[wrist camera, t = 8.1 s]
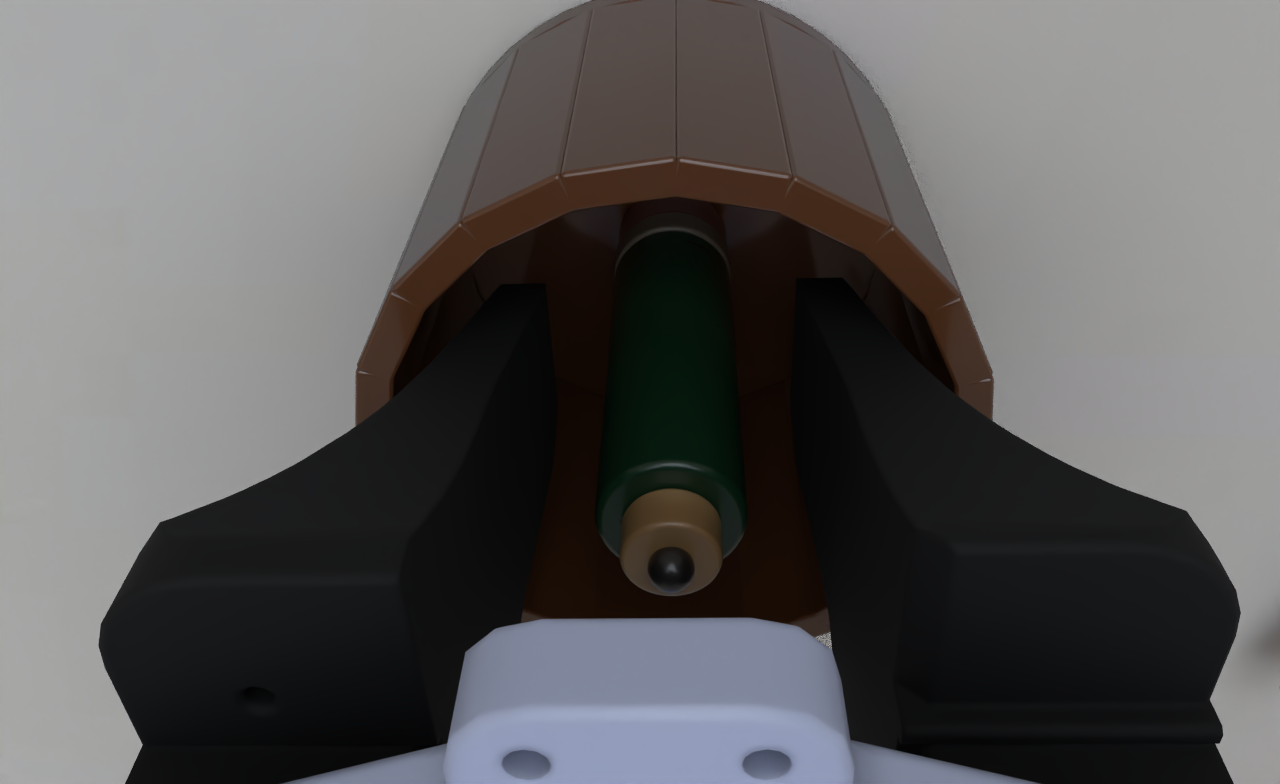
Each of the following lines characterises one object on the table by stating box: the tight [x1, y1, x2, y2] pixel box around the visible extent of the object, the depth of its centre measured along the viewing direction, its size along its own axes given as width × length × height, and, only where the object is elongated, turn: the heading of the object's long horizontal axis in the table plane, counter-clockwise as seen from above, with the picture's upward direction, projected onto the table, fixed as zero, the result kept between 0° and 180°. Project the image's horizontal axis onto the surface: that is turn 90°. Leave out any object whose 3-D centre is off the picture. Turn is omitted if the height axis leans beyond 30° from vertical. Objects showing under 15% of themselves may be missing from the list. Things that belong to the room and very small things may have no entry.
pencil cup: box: [355, 0, 994, 637], centre depth 16 cm, size 8×8×6 cm
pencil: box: [595, 197, 748, 596], centre depth 14 cm, size 2×2×8 cm
